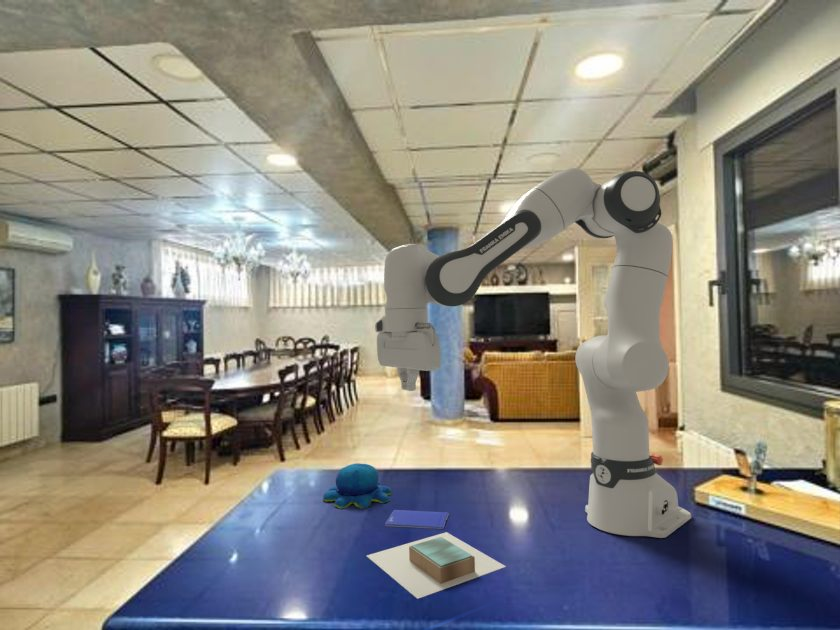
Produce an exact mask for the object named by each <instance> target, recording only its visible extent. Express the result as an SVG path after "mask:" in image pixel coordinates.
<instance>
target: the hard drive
mask: <svg viewBox="0 0 840 630" xmlns="http://www.w3.org/2000/svg"><path fill="white" fill-rule="evenodd" d="M449 515H450V512H446V511H445V512H441V511H427V510H426V511H422V510H406V509H405V510H404V509H402V510H401V509H393V511H392V512H391V513H390V516H389V517H388V518H387V519H386V522H385V524H384V526H385V527H396V528H397V527H398V528H399V527H401V528H418V529H436V530H437V529H439V530H444V528H445V526H446V525H445V524H446V521H447V520H448V517H449Z"/></svg>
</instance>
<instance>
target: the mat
mask: <svg viewBox="0 0 840 630" xmlns="http://www.w3.org/2000/svg"><path fill="white" fill-rule="evenodd" d="M439 537H442V538H444V539H446V540H447V541H449V542H451V543H452V544H454V545H456V546H457V547H459V548H461V549H462V550H464V551H466V552H467V553H469V554H471V555H472V556H474V557H475V572H473V573H470V574H467V575H464V576H461V577H459V578H456V579H453V580H450V581H447V582H445V583H442V584H441V583H439V582H438V581H437V580H435V579H434V578H432V577H431V576H430V575H428V574H427V573H426V572H424V571H423V570H422V569H420V568H419V567H418V566H416V565H415V564H413V563H412V562H411V561H410V560H409V546H412V545H415V544H418V543H422V542H425V541H429V540H432V539H435V538H439ZM366 557H367V558H368V559H369V560H371V562H372V563H374V564H375V565H377V567H379V568H380V569H381V570H382V571H384V573H386V574H387V575H388V576H389V577H391V579H393V581H394V580H395V581H396V582H397V583H398V584H399V585H400V586H402V588H404V589H405V590H406V591H407V592H409V594H411V595H412V596H413V597H414V598H416V599H417V600H418V599H422V598H424V597H427V596H430V595H432V594H436V593H437V592H440V591H444V590H445V589H448V588H451V587H455V586H456V585H457V586H458V585H460V584H462V583H466V582H469V581H471V580H474V579H477V578H479V577H482V576H485V575H487V574H490V573H494V572H495V571H499V570H501V569H504V568H506V567H507V566H506V565H504V564H503V563H501V562H499V561H498V560H496V559H494V558H492V557H490V556H489V555H487V554H485V553H484V552H482V551H480V550H479V549H476V548H475V547H473V546H471V545H470V544H468V543H466V542H464V541H463V540H461V539H459V538H457V537H456V536H453V535H452V534H451V533H449V532H447V531H446V532H442V533H438V534H436V535H432V536H428V537H425V538H422V539H418V540H415V541H412V542H411V541H410V542H408V543H405V544H401V545H397V546H395V547H391V548H388V549H384V550H380V551H377V552H374V553H371V554H367V555H366Z"/></svg>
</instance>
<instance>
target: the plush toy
mask: <svg viewBox="0 0 840 630" xmlns="http://www.w3.org/2000/svg"><path fill="white" fill-rule="evenodd" d="M392 493H393V492H392V489H391V487H389V486H386V485H381V483H380V482H379V472H378V470H377V468H375V466H373V465H370V464H367V463H358V462H357V463H356V462H355V463H352V464H349V465H346V466H344V467H342V468H340V469H339V471H338V473H337V475H336V477H335V485H334V486H332V487H330V488H329V490H328V491H326V492H324V494H323V501H324V502H333V501H334V504H333V505H334V507H336V508H338V509H346V508H348V507H349V506H350V505H352V504H354V506H355V507H357V508H359V509H364V508H363V507H365V508H368V506H369V507H370V506H371V504H372V502H378V503H381V504H384V503H389V502H390V500H391V499H390V497H389V496H390V495H391V496H392Z"/></svg>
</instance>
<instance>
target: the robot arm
mask: <svg viewBox="0 0 840 630" xmlns="http://www.w3.org/2000/svg"><path fill="white" fill-rule="evenodd" d="M661 217H662V209H661V195H660V189H659V187H658V184H657V182H656V181H655V179H654V178H653V177H652V176H651V175H649V174H647V172H643V171H639V170H632V171H626V172H622V173H619V174H617V175H616V176H613V177H612V178H611V179H610V180H608V181H606V182H605V183H603V184H602V185H601V184H600V183H596V182H595V181H594V180H593V179H592V177H590V175H589V174H588V173H587V172H585V171H584V170H582V169H580V168H578V167H577V168H576V167H569V168H565V169H563V170H561V171H559V172H557V173H555V174H553V175H551V176H549V177H548V178H546V179H545V180H542V181H541V182H540V183H538V184H536V185H535V186H533V187H532V188H531V189H530V190H528V191H527V192H525V193H524V194H523V195H522V196H521V197H519V199H517V200H516V202H514V204H513V205H511V207H509V209H508V210H507V212H506V215H505V217H504V219H503V220H502V221H501V223H499V224H498V225H497V226H496V227H494V228H493V229H492V230H490V231H489V232H487V234H485V235H484V236H483V237H481V238H480V239H478V240H477V241H475V242H474V243H473V244H470V245H469V246H468V247H466V248H464V249H460V250H456V251H450V252H446V253H443V254H441V255H438V254H436V253H434V252H431V251H430V250H428V249H427V248H425V247H424V246H423V245H422V244H419V243H407V244H403V245H400V246H399V245H398V246H397V247H394V248H392V249H390V251H389V252H388V253H387V254H386V257H385V260H384V267H383V268H384V269H383V271H384V272H383V282H384V283H383V289H384V292H385V296H386V301H385V306H384V315H383V316H382V317H381V318H380V319H379V320H377V321H376V322H375V324H374V330H375V333H378V334H377V335H376V352H377V353H376V354H377V361H378V362H379V365H380V366H381V367H382V366H383V367H390V368H397V374H398V377H399V380H400V383H401V384H400V385H401V390H402V391H408V392H413V391H416V389H417V380H418V377H419V373H420V371H425V372H429V371H439V370H440V368H441V366H442V354H441V353H442V352H441V345H440V340H439V339H440V338H439V336H438V334H437V331H436V328H435V327H434V326H433V325H432V323H431V322H429V321H428V320H429V315H428V314H429V312H428V305H429V304H430V303H431V304H435V305H436V304H437V305H439V306H442V307H458V306H459V307H460V306H461V305H464V304H466V303H468V302H469V301H470V300H471V299H472V298H473V297H474V296H475V295H476V293H478V290H479V288H480V286H481V285H482V283H483V281H484V280H485V278H486V277H487V276H488V275H489V274H490V273H491V272H492V271H493V270H495V269H496V268H498V266H500V265H502V264H503V263H505V262H506V261H507V260H508V259H510V258H511V257H512V256H514V255H515V254H517V253H518V252H520V251H522V250H525V249H528V248H536V247H539V246H541V245H542V244H544V243H546V242H547V241H549V240H551V239H553V238H555V237H557V236H558V235H559V234H560V233H562V232H563V231H564V230H566V229H568V227H570V226H571V225H572V224H574V223H575V224H576V225H578V226H579V227H581V229H582V230H583V231H584V232H585V233H586V234H588V235H590V236H591V237H593V238H597V239H609V238H613V237H614V241H615V245H616V246H615V247H616V256H615V257H614V262H613V266H612V269H611V272H610V277H609V280H608V284H607V288H606V293H605V297H604V301H603V302H604V307H605V309H606V314H607V334H605V335H604V334H603V335H602V334H601V335H596V336H594V337H591V338H589V339H587V340H585V341H583V342H582V343H581V344H579V346H578V347H577V350H576V351H575V356H574V357H575V358H574V359H575V366H576V367H577V370H578V372H579V373H580V375H581V378H582V381H583V385H584V388H585V389H584V391H585V394H586V397H587V403H588V406H589V411H590V418H591V436H592V437H591V438H592V452H591V453H590V470H591V472H592V473H591V475H590V476H589V485H588V486H589V487H588V488H589V489H588V504H586V505H585V506H584V507H585V508H584V511H585V512H586V513H587V516H586V521H587V522H588V523H589V525H591V526H593V527H595V528H597V529H598V530H600V531H603V532H606V533H609V534H614V535H619V536H628V537H651V538H659V539H663V538H667V537H668V536H670V535H671V534H672V533H674V532H675V531H676V530H677V529H678V528H681V526H683V525H684V524H685V523H687V522H688V521H690V520H691V519H692V513H691V512H689V511H688V510H687V509H685V508H683V507H681V506H679V499H678V493H677V489H676V488H675V487H674V486H672V485H671V484H670V483H669V482H668V481H666V479H664V478H663V477H661V475H659V474H658V473H657V469H656V467H655V465H657V466H661V465H663V462H664V458H663V455H657V454H654V453H652V454H650V432H649V419H648V415H647V414H646V412H645V411H644V409H643V407H642V406H641V403H640V400H639V398H638V394H637V392H638V393H639V392H646V391H652V390H654V389H656V388H658V387H659V386H660V385H662V384H663V383H664V382H665V380H666V379H667V376H668V374H669V368H670V364H669V363H670V362H669V359H668V355H667V353H666V351H665V350H664V348H663V345H662V342H661V331H660V330H661V329H660V328H661V327H660V319H661V318H660V317H661V308H662V304H663V300H664V295H665V290H666V286H667V282H668V278H669V274H670V269H671V264H672V255H673V234H672V232H671V230H670V229H669V228H668V227H667V226H665V225H664V224H662V223H660V222H659V221H660V219H661Z"/></svg>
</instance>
